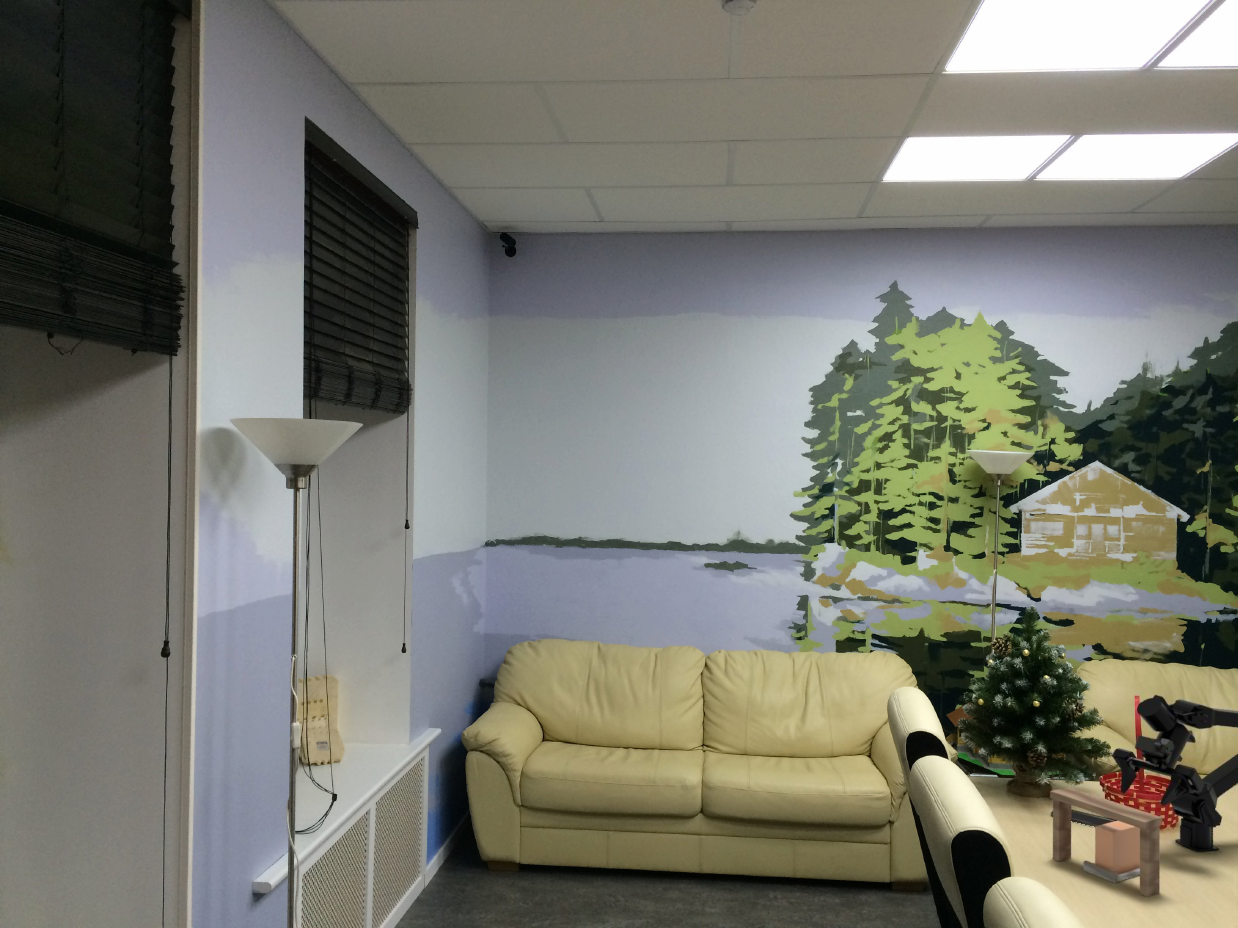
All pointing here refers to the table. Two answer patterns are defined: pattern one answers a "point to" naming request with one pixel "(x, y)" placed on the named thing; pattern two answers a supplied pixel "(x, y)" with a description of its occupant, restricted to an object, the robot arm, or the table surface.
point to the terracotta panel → (1117, 846)
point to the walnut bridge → (1115, 811)
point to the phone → (1088, 818)
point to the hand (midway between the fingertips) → (1141, 798)
